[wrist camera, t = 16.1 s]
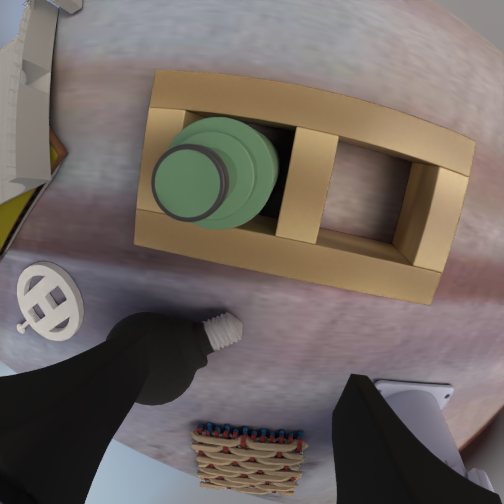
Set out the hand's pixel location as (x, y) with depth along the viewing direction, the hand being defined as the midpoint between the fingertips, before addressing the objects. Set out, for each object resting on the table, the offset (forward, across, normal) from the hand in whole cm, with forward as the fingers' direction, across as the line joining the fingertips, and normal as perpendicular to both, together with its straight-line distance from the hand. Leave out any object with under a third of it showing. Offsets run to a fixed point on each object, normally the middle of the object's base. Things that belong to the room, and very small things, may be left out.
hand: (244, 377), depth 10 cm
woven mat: (+8, -2, +20) cm, 22 cm away
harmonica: (+8, +21, -1) cm, 22 cm away
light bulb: (+11, +6, +6) cm, 13 cm away
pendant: (+9, +19, +8) cm, 22 cm away
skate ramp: (+9, +21, -9) cm, 24 cm away
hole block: (+10, -1, -6) cm, 12 cm away
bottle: (+10, +3, -6) cm, 12 cm away
